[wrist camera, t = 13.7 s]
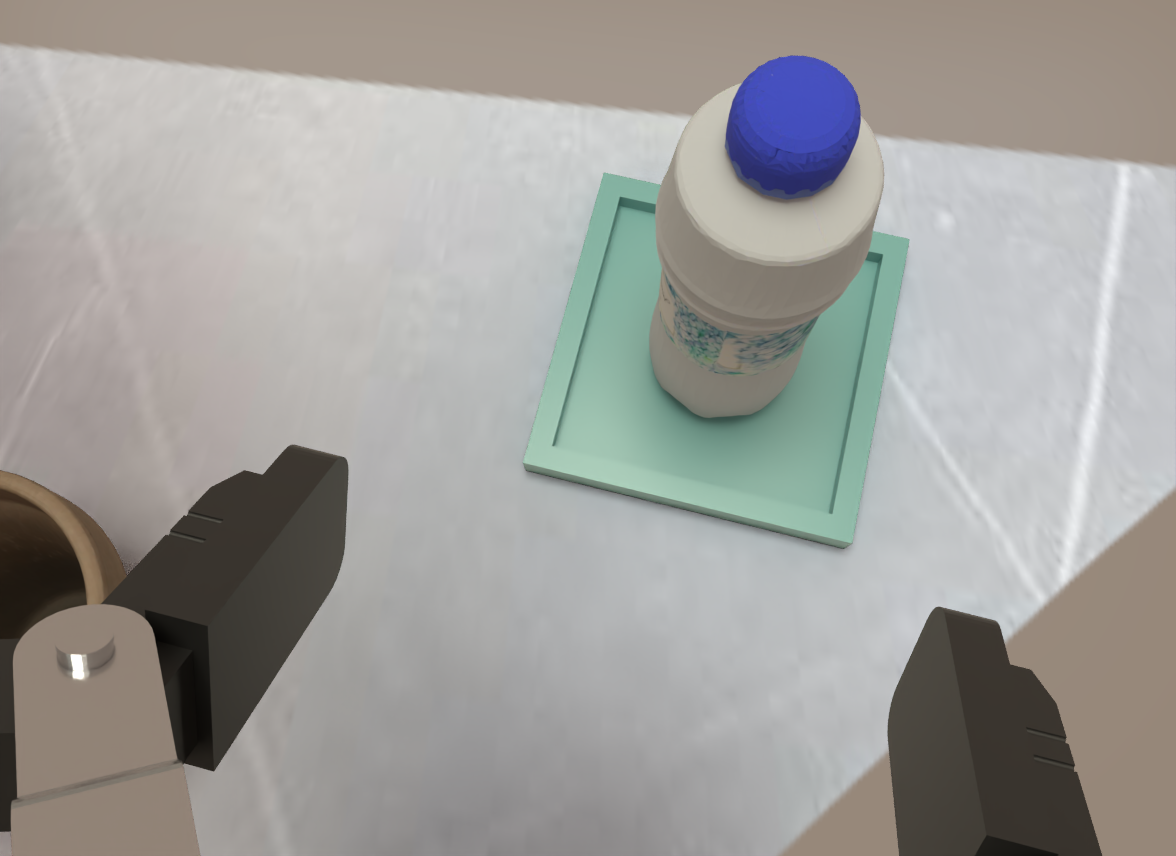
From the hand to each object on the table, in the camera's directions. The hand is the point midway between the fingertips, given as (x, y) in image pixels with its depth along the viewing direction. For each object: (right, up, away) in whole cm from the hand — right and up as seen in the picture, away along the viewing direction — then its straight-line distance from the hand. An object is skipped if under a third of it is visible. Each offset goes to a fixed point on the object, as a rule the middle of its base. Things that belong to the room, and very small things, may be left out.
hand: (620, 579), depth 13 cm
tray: (+5, +5, +31) cm, 32 cm away
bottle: (+5, +5, +31) cm, 32 cm away
